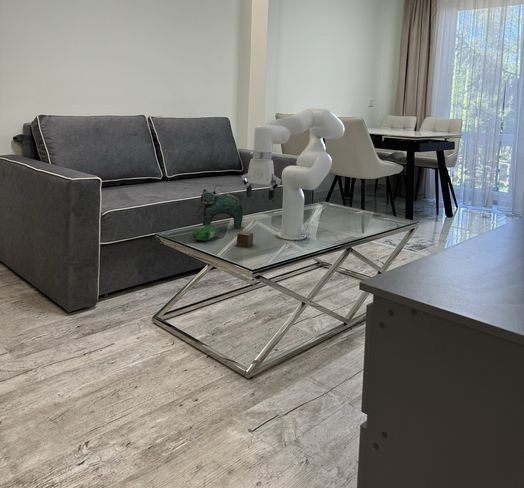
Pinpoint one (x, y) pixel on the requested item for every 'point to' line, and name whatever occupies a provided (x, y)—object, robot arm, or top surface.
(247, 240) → the walnut block
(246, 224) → the top surface
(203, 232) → the snack package
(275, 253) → the top surface
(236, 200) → the ceramic cat
